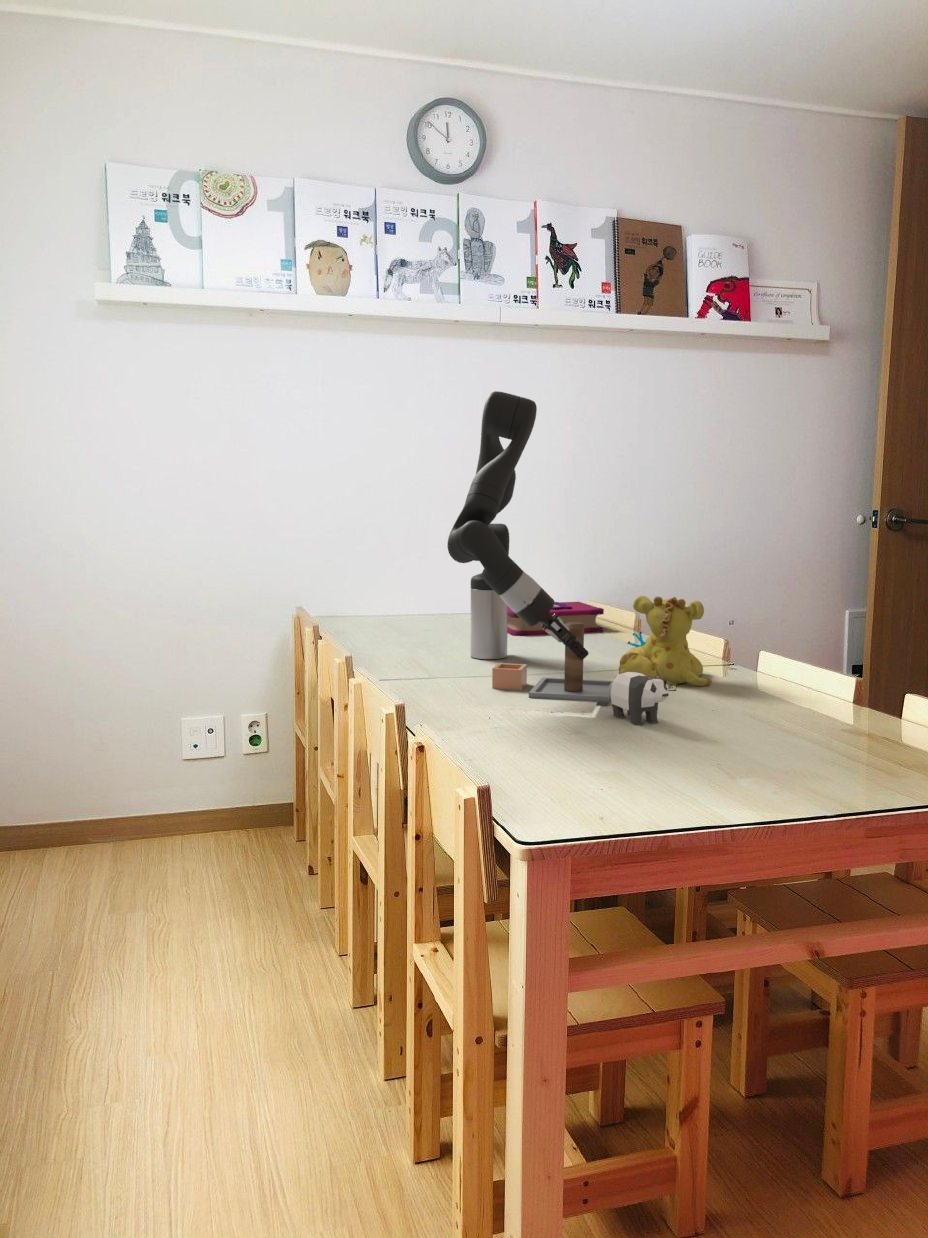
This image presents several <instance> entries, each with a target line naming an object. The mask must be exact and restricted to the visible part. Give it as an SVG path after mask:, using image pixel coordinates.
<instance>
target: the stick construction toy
mask: <svg viewBox="0 0 928 1238" xmlns="http://www.w3.org/2000/svg"><path fill="white" fill-rule="evenodd" d="M638 634H639V635H638ZM642 634H643V633H642V631H640V632H639V633H636V632H633V633H632V636H634V637H636V638H637V640H638V642H640V644H637V643H633V642H631V641H630V640H629V641H628V642H627V643H626V644H627V645H630V646H632V648H631V649H633V648H636V647H641V646H644V645H646V642H647V639H648V637H647V639H646V640H645V641H644V640H643V636H642ZM650 634H651V632H650V633H649V635H650Z"/></svg>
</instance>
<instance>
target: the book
mask: <svg viewBox="0 0 928 1238" xmlns="http://www.w3.org/2000/svg"><path fill="white" fill-rule="evenodd" d="M604 610H605V609H604V608H603V607H597V606H594V605H591V604H587V603H584V602H581V601H565V602H561V601H560V602H559V601H555V604H554V606H553V608H552V609H551V610H550V614H551V615H553V614H554V613H555V614H556V615H557V616H558V617H559V618H560V619H561V620H562V621H563V623H564V624H565V625H566V623H568V622H579V623H584V634H587V633H591V634H592V633H603V632H604V627H602V626H599V625H597V621H596V620H597V619H596V618H597V616H598V615H600V616H601V615H604V612H605V611H604ZM542 625H543V624H542V623H541V622H540V621H539V622H538V623H537V624H536V625H534V626H531V627H529V626H527V625H526V624H525V623H524V622H523V621H522V620H521V619H520V618H519V617H518V616H517V615H516V614H515V613H514V612H513V611H512V610H511V609H510V608H509V607H508V623H507V634H509V635H510V636H513V637H526V636H542V635H543V636H546V635H547V636H548V635H549V634H548V633H547V632H546V631H545V630H544V629H543V628H542V627H541V626H542Z"/></svg>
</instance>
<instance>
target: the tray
mask: <svg viewBox="0 0 928 1238" xmlns="http://www.w3.org/2000/svg"><path fill="white" fill-rule="evenodd" d="M613 681H614V680H605V679H603V680H602V679H584V678H583V691H581V692H567V691H564V677H563V678H562V677H546V676H545V677H544V676H543V677H541V678H540V680H539V681H538V682H537V683H536V684H535V685H534V686H533V687H532V688H531V689H530V690H529V692H528V698H530V699H546V700H547V699H548V700H562V701H563V700H565V701H578V702H579V701H580V702H581V701H582V702H583V701H584V702H597V703H596V706H607V707H608V706H610V703H611V688H612V683H613Z"/></svg>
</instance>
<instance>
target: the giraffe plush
mask: <svg viewBox="0 0 928 1238" xmlns="http://www.w3.org/2000/svg"><path fill="white" fill-rule="evenodd" d="M652 600H653V602H652ZM652 600H651V599H650V598H649V597H647V596H645V595H639V596H637V597H636V598H635V600H633V605H632V608H633V610H634V611H635V612H636V613H639V614H643V615H645V621H646V623H647V625H648V627H649V629H650V631H651V632H650V633H651V634H650V633H649V635H648V637H647V638H648V639H646V640H647V642H646V645H644V646H641V647H636V648H635V647H632V648H633V649H632V648H630V649H629V650H627V652H625V653H624V654H623V655H622V656H621V657H620V660H619V667H618V675H619V674H622V673H626V672H637V673H641V674H643V675H645V676H647V677H648V676H651V677H652V679H654V677H655V676H656V675H660V678H659V679H661V680H663V681H664V683H665V685H666V687H667V692H668V691H676V689H677V685H680V684H685V683H688V684H690V685H692V686H697V687H708V686H710V685H711V684H712V679H711V678H706V677H700V676H701V675H703V672H704V671H703V670H704V667H703V664H702V662H701V661H700V660H699V658H698V657H696V656H695V655H694V654H693V653H691V651H690V648H689V642H688V640H687V635H689V633H690V631H691V628H692V625H693V621H694V620H701V619H702V618H703V616H704V613H705V608H704V605H703V604H702V602H701V601H699V600H693V601H691V602H690V603H689V604H688V606H686V603H687V602H686V600H685V599H683V598H679V599H678V598H677V597H676V596H673V597H671V598H665V599H663V597H661V596H655V597H654V598H653V599H652Z"/></svg>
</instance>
